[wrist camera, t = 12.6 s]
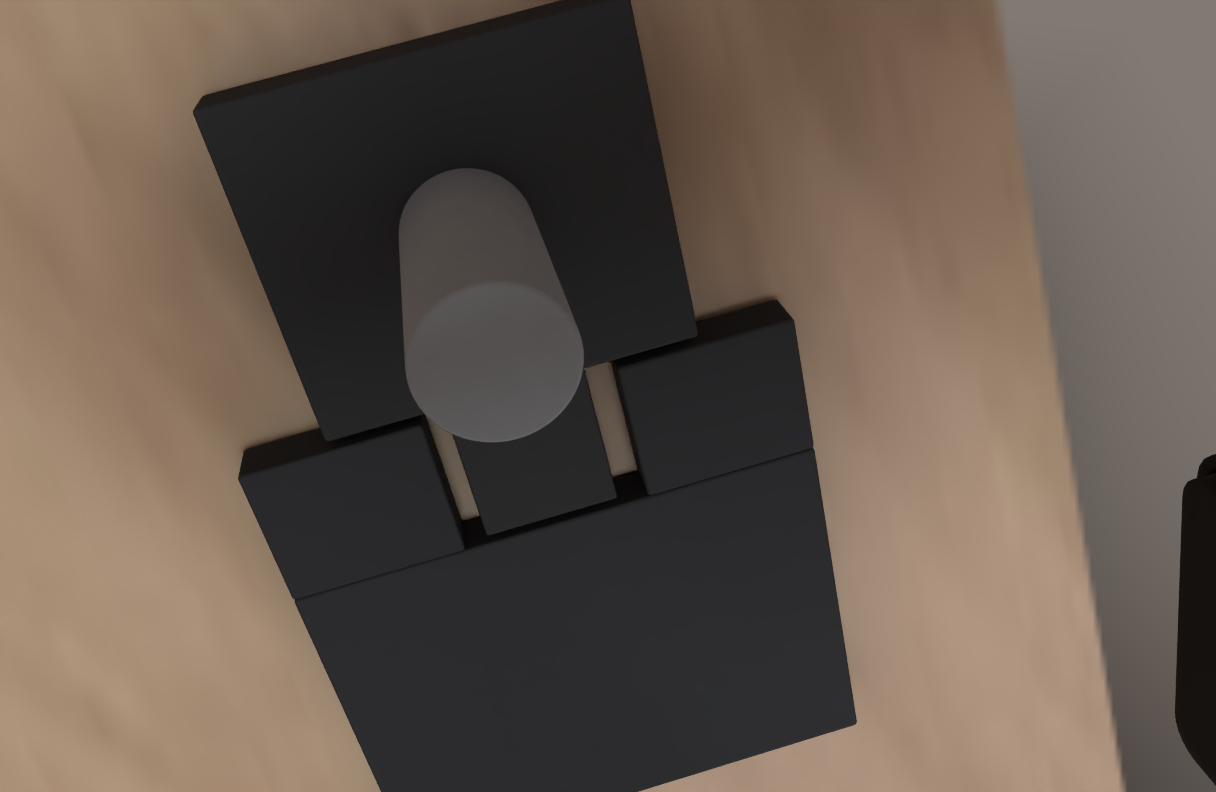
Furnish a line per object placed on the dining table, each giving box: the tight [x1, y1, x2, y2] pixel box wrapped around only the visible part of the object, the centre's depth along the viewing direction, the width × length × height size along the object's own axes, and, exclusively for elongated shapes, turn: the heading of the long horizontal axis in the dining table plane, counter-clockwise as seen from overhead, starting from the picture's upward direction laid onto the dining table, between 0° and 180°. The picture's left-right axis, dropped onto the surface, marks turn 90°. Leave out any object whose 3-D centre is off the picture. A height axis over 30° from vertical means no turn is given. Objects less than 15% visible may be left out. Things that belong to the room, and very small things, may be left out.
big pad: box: [238, 300, 857, 792], centre depth 27 cm, size 12×12×1 cm
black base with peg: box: [193, 0, 698, 535], centre depth 20 cm, size 8×10×7 cm
